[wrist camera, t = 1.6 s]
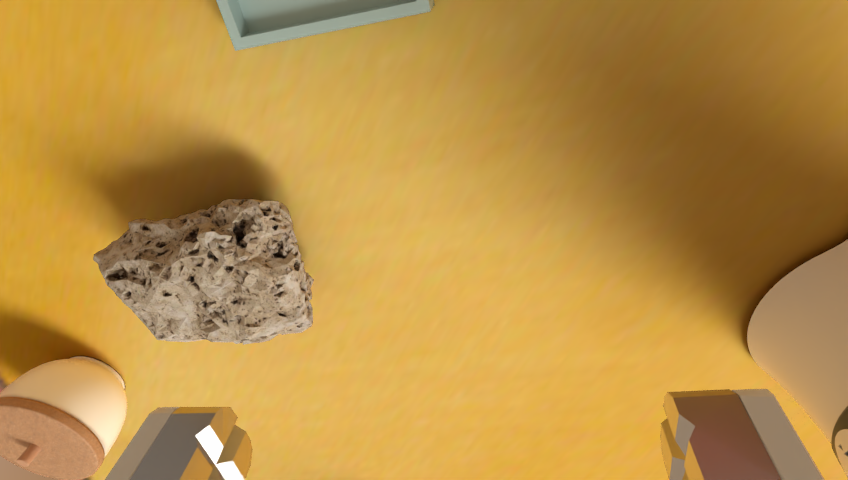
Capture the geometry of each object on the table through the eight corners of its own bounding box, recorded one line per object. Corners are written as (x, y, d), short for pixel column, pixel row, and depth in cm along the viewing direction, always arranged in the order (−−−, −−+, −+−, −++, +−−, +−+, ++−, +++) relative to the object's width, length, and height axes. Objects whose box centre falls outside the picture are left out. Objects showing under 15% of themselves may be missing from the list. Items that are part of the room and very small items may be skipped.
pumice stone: (175, 294, 42) (116, 366, 36) (124, 166, 36) (40, 224, 29) (334, 302, 41) (304, 379, 34) (312, 170, 34) (269, 233, 28)
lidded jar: (37, 385, 52) (-42, 469, 44) (44, 322, 46) (-46, 405, 38) (138, 424, 54) (78, 511, 46) (156, 368, 48) (92, 457, 40)
